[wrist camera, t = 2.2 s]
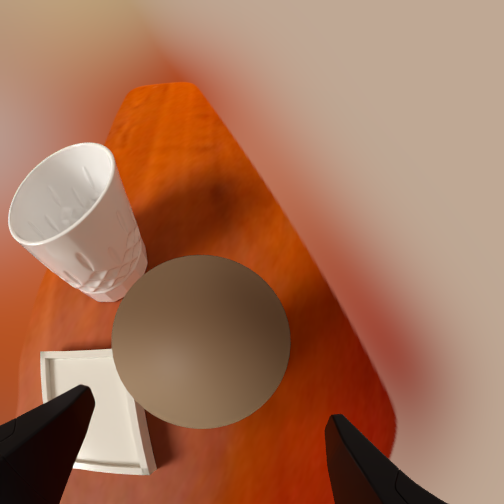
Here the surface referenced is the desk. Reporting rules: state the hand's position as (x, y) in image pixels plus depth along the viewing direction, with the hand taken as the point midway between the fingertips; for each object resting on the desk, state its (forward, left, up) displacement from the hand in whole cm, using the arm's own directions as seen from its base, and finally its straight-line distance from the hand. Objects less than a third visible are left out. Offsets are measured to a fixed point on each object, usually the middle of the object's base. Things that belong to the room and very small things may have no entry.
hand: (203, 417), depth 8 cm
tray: (0, +9, -9) cm, 13 cm away
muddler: (+2, -1, -10) cm, 10 cm away
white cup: (+12, +7, -10) cm, 17 cm away
